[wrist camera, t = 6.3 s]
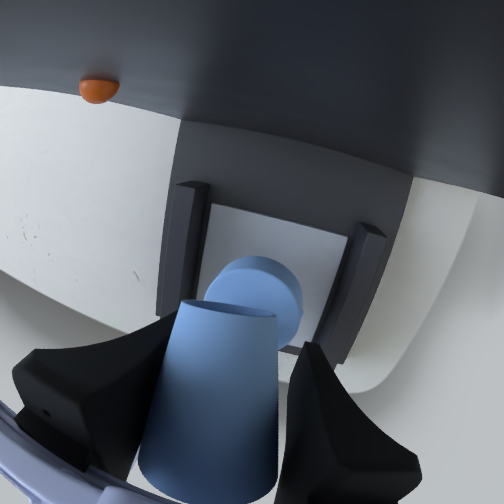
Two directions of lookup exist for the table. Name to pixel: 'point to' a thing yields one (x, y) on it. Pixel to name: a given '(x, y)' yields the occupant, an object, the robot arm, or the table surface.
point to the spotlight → (223, 388)
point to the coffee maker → (285, 125)
